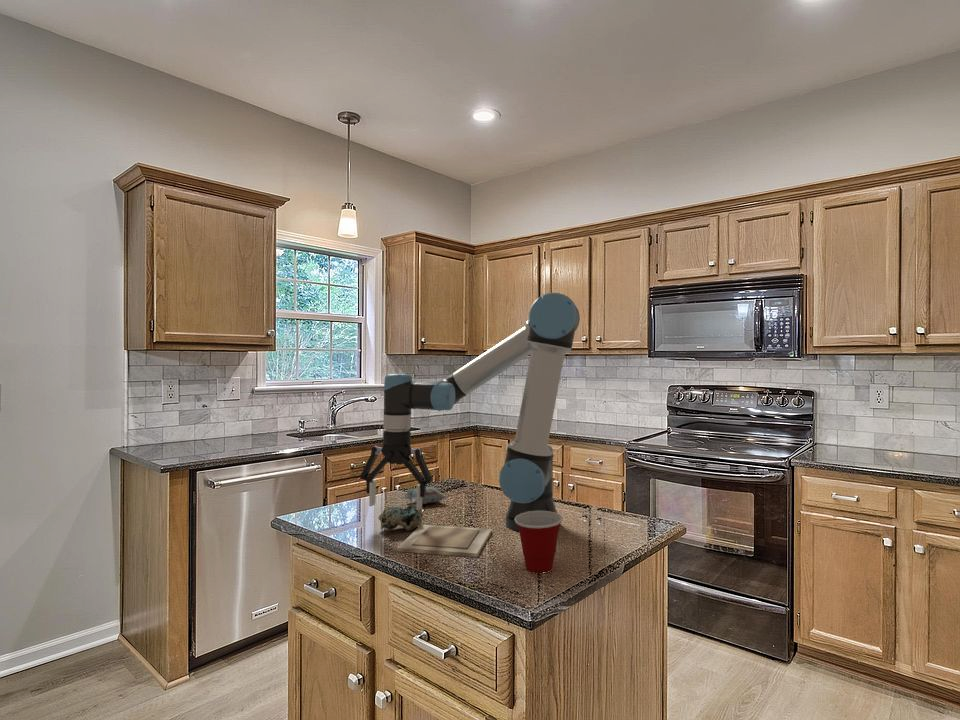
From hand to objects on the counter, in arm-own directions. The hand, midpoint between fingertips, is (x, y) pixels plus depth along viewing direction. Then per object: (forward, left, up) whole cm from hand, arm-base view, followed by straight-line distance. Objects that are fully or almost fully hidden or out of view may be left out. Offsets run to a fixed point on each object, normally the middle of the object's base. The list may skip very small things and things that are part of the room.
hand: (395, 506), depth 159 cm
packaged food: (+2, -25, -8) cm, 27 cm away
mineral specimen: (0, 0, -7) cm, 7 cm away
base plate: (-16, +7, -6) cm, 19 cm away
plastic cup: (-41, +22, -7) cm, 47 cm away
